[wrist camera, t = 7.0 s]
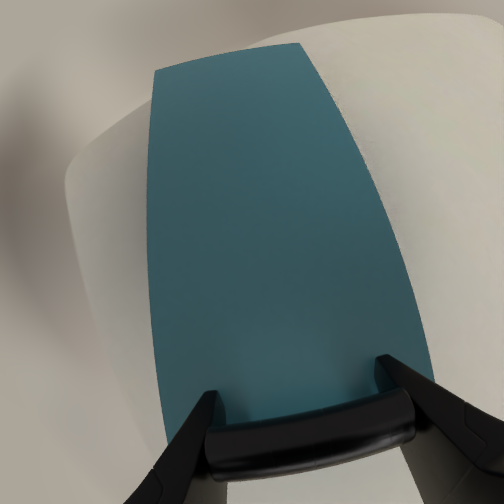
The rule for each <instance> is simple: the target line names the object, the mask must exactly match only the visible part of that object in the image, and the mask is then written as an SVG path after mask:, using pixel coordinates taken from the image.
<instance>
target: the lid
mask: <svg viewBox="0 0 504 504" xmlns="http://www.w3.org/2000/svg"><path fill="white" fill-rule="evenodd" d="M147 260H148V282H149V299H150V313H151V325H152V336H153V346H154V355H155V364H156V372H157V380H158V387H159V394H160V401H161V407H162V413H163V420H164V425H165V431H166V436H167V442H168V445H169V443H170V442H171V440H172V439H173V437H174V436H175V434H176V433H177V431H178V430H179V429H180V427H181V426H182V424H183V423H184V421H185V420H186V418H187V417H188V415H189V414H190V412H191V411H192V409H193V408H194V406H195V405H196V403H197V402H198V400H199V399H200V397H201V396H202V394H203V393H204V392H205V391H208V390H218V392H219V394H220V396H221V399H222V401H223V404H224V406H225V411H226V423H227V424H224V425H214V426H210V427H208V429H207V431H206V435H205V444H204V446H205V458H206V463H207V467H208V470H209V472H210V475H211V477H212V478H213V480H214V481H215V482H218V483H225V482H238V481H248V480H257V479H265V478H273V477H280V476H286V475H292V474H298V473H303V472H308V471H313V470H318V469H322V468H327V467H331V466H335V465H339V464H343V463H347V462H351V461H354V460H358V459H361V458H365V457H368V456H371V455H374V454H378V453H381V452H384V451H387V450H390V449H393V448H395V447H398V446H401V445H404V444H406V443H409V442H411V441H412V440H413V439H414V438H415V436H416V432H417V418H416V412H415V408H414V405H413V403H412V400H411V398H410V396H409V394H408V393H407V391H406V390H405V389H404V388H402V387H395V388H392V389H389V390H386V391H383V392H378V389H377V386H376V383H375V379H374V366H375V358H376V357H377V356H380V355H383V354H389V355H391V356H393V357H394V358H396V359H397V360H399V361H401V362H402V363H404V364H405V365H407V366H409V367H410V368H412V369H414V370H415V371H417V372H418V373H420V374H422V375H423V376H425V377H427V378H428V379H430V380H431V381H433V382H435V380H434V375H433V370H432V365H431V360H430V355H429V351H428V346H427V342H426V338H425V334H424V330H423V326H422V322H421V318H420V314H419V310H418V307H417V303H416V300H415V296H414V293H413V289H412V286H411V283H410V280H409V276H408V273H407V270H406V267H405V264H404V261H403V258H402V255H401V252H400V249H399V246H398V243H397V241H396V238H395V235H394V232H393V230H392V227H391V224H390V222H389V219H388V216H387V214H386V211H385V209H384V206H383V204H382V201H381V199H380V196H379V194H378V192H377V189H376V187H375V185H374V182H373V180H372V178H371V175H370V173H369V171H368V169H367V166H366V164H365V162H364V160H363V158H362V155H361V153H360V151H359V149H358V147H357V145H356V143H355V141H354V139H353V137H352V135H351V133H350V131H349V129H348V127H347V125H346V123H345V121H344V119H343V117H342V115H341V113H340V111H339V109H338V108H337V106H336V104H335V102H334V100H333V98H332V97H331V95H330V93H329V91H328V89H327V88H326V86H325V84H324V82H323V81H322V79H321V77H320V76H319V74H318V72H317V71H316V69H315V67H314V66H313V64H312V62H311V61H310V59H309V57H308V56H307V54H306V53H305V51H304V49H303V48H302V46H301V45H300V43H290V44H281V45H273V46H265V47H258V48H252V49H246V50H240V51H235V52H229V53H224V54H219V55H214V56H210V57H205V58H201V59H197V60H192V61H188V62H184V63H181V64H177V65H173V66H170V67H166V68H163V69H159V70H156V71H155V75H154V84H153V93H152V103H151V115H150V129H149V145H148V167H147Z"/></svg>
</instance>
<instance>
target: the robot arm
mask: <svg viewBox="0 0 504 504" xmlns="http://www.w3.org/2000/svg"><path fill="white" fill-rule="evenodd" d="M374 379H375V383H376V386H377V389H378V392H383V391H386V390H389V389H392V388H395V387H402V388H404V389H405V390H406V391H407V393H408V394H409V396H410V398H411V400H412V403H413V405H414V408H415V412H416V418H417V432H416V436H415V438H414V439H413V440H412V441H411V442H409V443H406V444H404V445H401V446H400V448H401V451H402V453H403V455H404V457H405V460H406V462H407V464H408V467H409V469H410V471H411V474H412V476H413V478H414V481H415V483H416V485H417V488H418V490H419V493H420V495H421V497H422V500H423V502H424V504H504V421H502V420H500V419H497V418H495V417H493V416H491V415H489V414H487V413H485V412H483V411H481V410H480V409H478V408H476V407H474V406H473V405H471V404H469V403H468V402H465V401H464V400H463V399H461V398H459V397H458V396H456V395H454V394H453V393H451V392H449V391H448V390H446V389H444V388H443V387H441V386H440V385H438V384H436V383H435V382H433V381H431V380H430V379H428V378H427V377H425V376H423V375H422V374H420V373H418V372H417V371H415V370H414V369H412V368H410V367H409V366H407V365H405V364H404V363H402V362H401V361H399V360H397V359H396V358H394V357H393V356H391V355H389V354H383V355H380V356H377V357H376V358H375V366H374ZM224 424H227V423H226V411H225V406H224V404H223V401H222V399H221V396H220V394H219V392H218V390H208V391H205V392H204V393H203V394H202V396H201V397H200V399H199V400H198V402H197V403H196V405H195V406H194V408H193V409H192V411H191V412H190V414H189V415H188V417H187V418H186V420H185V421H184V423H183V424H182V426H181V427H180V429H179V430H178V431H177V433H176V434H175V436H174V437H173V439H172V440H171V442H170V443H169V445H168V446H167V448H166V449H165V450H164V452H163V453H162V455H161V456H160V458H159V459H158V460H157V462H156V463H155V465H154V466H153V469H151V470H150V472H149V473H148V475H147V476H146V477H145V479H144V480H143V481H142V483H141V484H140V485H139V487H138V488H137V489H136V490H135V491H134V492H133V494H132V495H131V496H130V497H129V498H128V499H127V500H126V501H125V502H124V503H123V504H227V482H225V483H218V482H215V481H214V480H213V478H212V477H211V475H210V472H209V470H208V467H207V463H206V458H205V446H204V444H205V435H206V431H207V429H208V427H210V426H214V425H224Z"/></svg>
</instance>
